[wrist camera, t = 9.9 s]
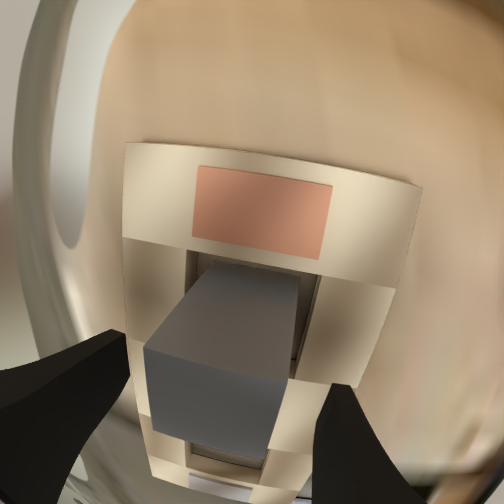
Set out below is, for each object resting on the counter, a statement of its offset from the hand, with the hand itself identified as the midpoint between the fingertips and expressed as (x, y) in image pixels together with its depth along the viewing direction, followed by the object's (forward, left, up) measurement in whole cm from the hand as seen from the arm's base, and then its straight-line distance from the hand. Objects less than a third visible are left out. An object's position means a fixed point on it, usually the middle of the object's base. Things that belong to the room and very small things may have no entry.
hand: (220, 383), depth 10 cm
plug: (0, 0, -6) cm, 6 cm away
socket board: (0, +6, -6) cm, 8 cm away
